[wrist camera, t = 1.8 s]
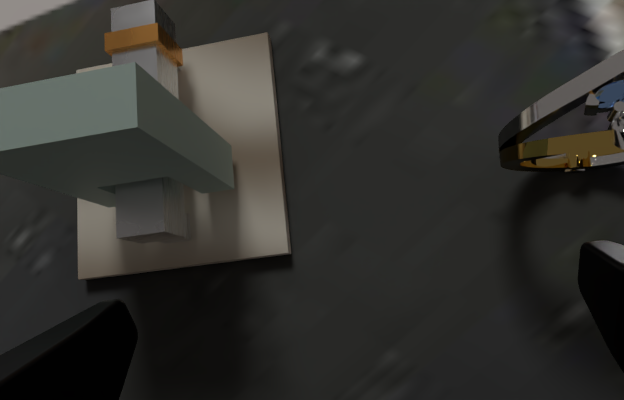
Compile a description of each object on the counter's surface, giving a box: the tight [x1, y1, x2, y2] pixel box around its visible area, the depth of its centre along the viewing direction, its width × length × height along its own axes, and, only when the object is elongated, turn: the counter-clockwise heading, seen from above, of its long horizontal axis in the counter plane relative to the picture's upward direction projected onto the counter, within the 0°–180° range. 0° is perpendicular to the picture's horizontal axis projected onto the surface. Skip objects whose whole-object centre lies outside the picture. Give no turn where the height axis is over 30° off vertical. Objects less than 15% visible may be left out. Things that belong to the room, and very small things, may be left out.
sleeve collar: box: [0, 62, 234, 208], centre depth 19 cm, size 3×6×8 cm, turn 96°
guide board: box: [76, 33, 291, 280], centre depth 24 cm, size 10×10×1 cm
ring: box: [498, 50, 624, 173], centre depth 17 cm, size 7×3×8 cm, turn 91°
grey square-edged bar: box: [105, 0, 191, 244], centre depth 22 cm, size 10×2×4 cm, turn 6°
